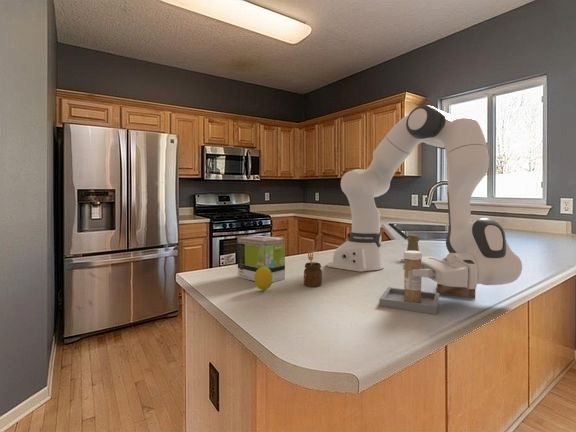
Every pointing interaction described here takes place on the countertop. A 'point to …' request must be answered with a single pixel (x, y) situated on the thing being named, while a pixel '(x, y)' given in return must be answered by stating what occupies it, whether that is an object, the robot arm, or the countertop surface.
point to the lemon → (263, 278)
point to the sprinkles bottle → (410, 281)
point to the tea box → (261, 256)
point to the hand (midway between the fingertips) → (407, 269)
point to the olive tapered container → (412, 242)
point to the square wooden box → (455, 290)
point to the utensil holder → (312, 272)
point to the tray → (396, 300)
